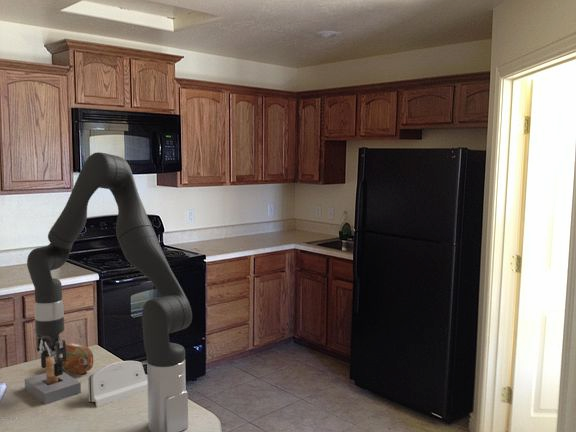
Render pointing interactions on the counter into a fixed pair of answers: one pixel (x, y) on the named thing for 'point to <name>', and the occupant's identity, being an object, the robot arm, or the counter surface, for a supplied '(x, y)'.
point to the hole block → (52, 387)
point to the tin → (77, 358)
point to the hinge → (116, 382)
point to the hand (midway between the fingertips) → (51, 371)
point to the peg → (50, 371)
